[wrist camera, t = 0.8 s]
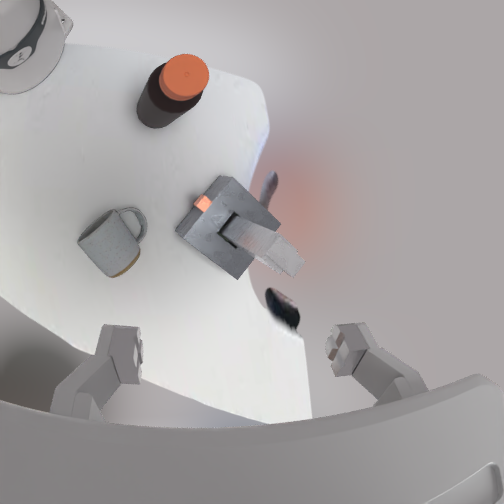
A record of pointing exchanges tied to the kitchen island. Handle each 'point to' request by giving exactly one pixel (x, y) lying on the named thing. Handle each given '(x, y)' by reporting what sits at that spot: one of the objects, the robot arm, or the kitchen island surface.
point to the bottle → (172, 90)
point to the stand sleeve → (213, 218)
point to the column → (262, 244)
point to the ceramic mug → (112, 242)
